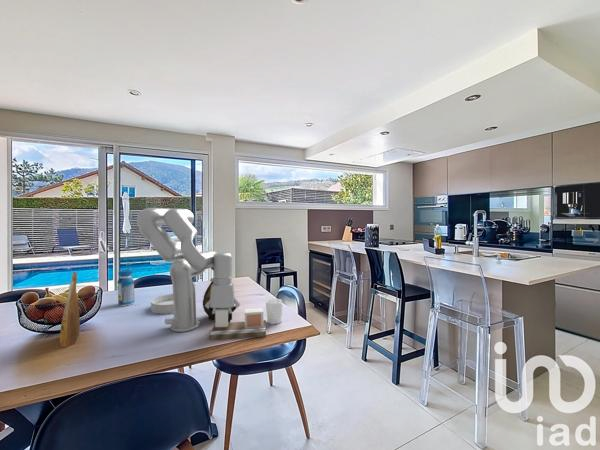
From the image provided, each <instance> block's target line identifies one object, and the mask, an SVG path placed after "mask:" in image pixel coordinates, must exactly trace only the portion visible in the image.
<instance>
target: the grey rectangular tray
mask: <svg viewBox="0 0 600 450" xmlns="http://www.w3.org/2000/svg"><path fill="white" fill-rule="evenodd" d="M211 329H212V330H211V331H209V340H210V341H212V340H226V339H229V340H230V339H244V338H260V337H267V319H264V328H248V329H245V321H230V323H229V324H228V327H215V324H214V326H213V328H211Z"/></svg>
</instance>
